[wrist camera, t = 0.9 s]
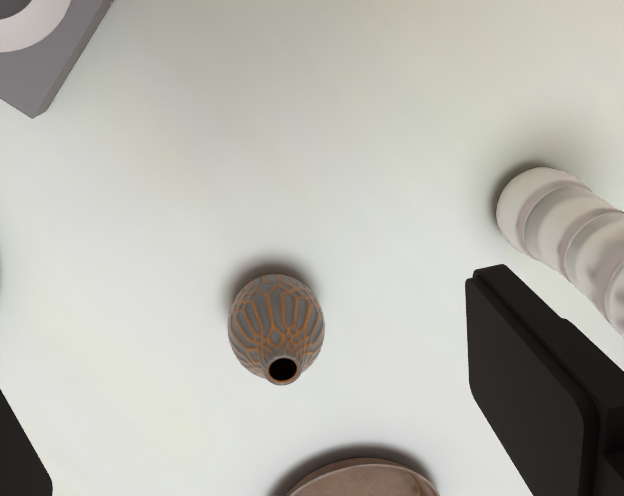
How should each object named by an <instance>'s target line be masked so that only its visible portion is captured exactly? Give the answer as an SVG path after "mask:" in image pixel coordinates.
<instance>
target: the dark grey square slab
mask: <svg viewBox="0 0 624 496" xmlns="http://www.w3.org/2000/svg"><path fill="white" fill-rule="evenodd" d="M112 2H113V0H0V99H2V100H3V101H5V102H7V103H8V104H10V105H11V106H13V107H15V108H16V109H18V110H19V111H21V112H22V113H24V114H26V115H27V116H29V117H30V118H32V119H33V118H35V117H36V116H38V115H40V114H42V113H44V112H46V110H47V109H48V107H49V106H50V104H51V102H52V101H53V99H54V97H55V96H56V94H57V92H58V91H59V89H60V87H61V86H62V84H63V83H64V81H65V79H66V78H67V76H68V74H69V73H70V71H71V69H72V68H73V66H74V64H75V63H76V61H77V60H78V58H79V56H80V55H81V53H82V51H83V50H84V48H85V46H86V45H87V43H88V41H89V40H90V38H91V37H92V35H93V33H94V32H95V30H96V28H97V27H98V25H99V23H100V22H101V20H102V19H103V17H104V15H105V14H106V12H107V10H108V9H109V7H110V5H111V4H112Z"/></svg>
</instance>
